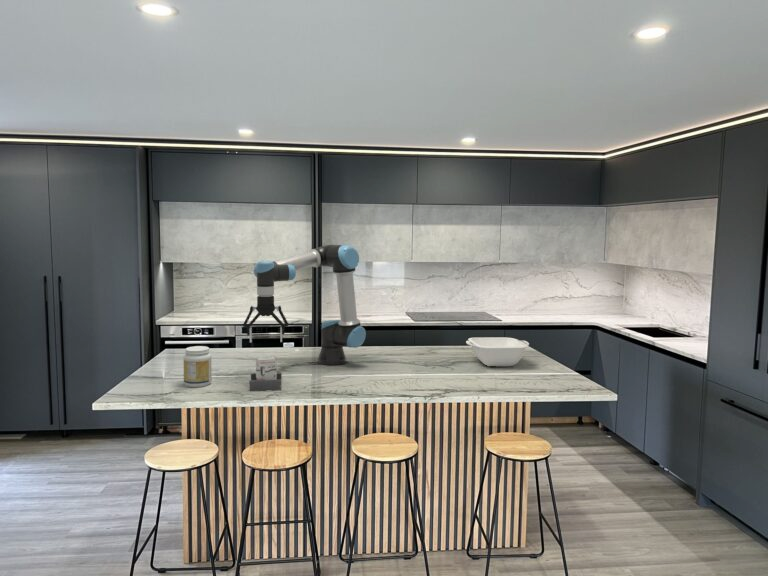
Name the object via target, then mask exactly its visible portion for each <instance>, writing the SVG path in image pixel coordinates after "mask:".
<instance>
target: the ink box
mask: <svg viewBox="0 0 768 576" xmlns="http://www.w3.org/2000/svg"><path fill="white" fill-rule="evenodd" d="M255 359H256V360H255V363H256V364H255V368H256V369H255V371H256V372H255V373H256V380H277V373H278V372H277V371H278V369H277V366H278V363H277V361H278V359H277V357H276V356H273V355H272V356H259V357H256V358H255Z"/></svg>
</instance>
